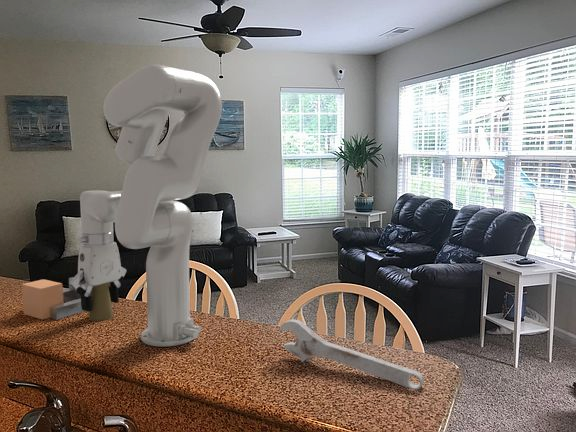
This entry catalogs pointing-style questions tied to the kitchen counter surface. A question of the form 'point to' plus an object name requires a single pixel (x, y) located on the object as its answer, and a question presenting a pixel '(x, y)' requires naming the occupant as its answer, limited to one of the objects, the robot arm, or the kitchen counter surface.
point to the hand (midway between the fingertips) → (100, 305)
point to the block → (41, 297)
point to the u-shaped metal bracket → (68, 304)
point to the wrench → (345, 355)
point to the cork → (101, 303)
